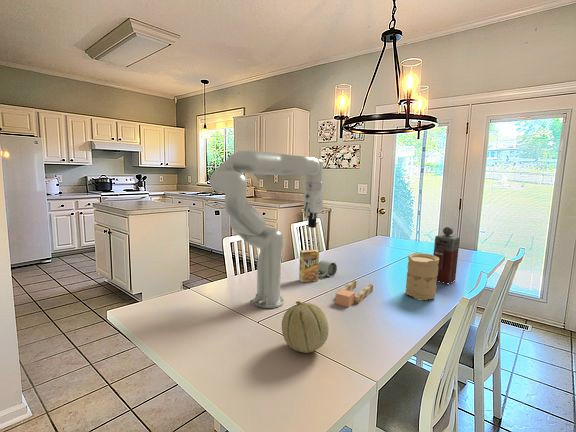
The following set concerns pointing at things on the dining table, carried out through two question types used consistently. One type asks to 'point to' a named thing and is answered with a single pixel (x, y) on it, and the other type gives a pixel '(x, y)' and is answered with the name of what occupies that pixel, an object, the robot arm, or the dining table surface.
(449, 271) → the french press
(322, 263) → the ceramic mug
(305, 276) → the candy box
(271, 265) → the robot arm
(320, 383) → the dining table surface
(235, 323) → the dining table surface
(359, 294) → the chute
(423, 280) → the container
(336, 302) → the block
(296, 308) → the cantaloupe
